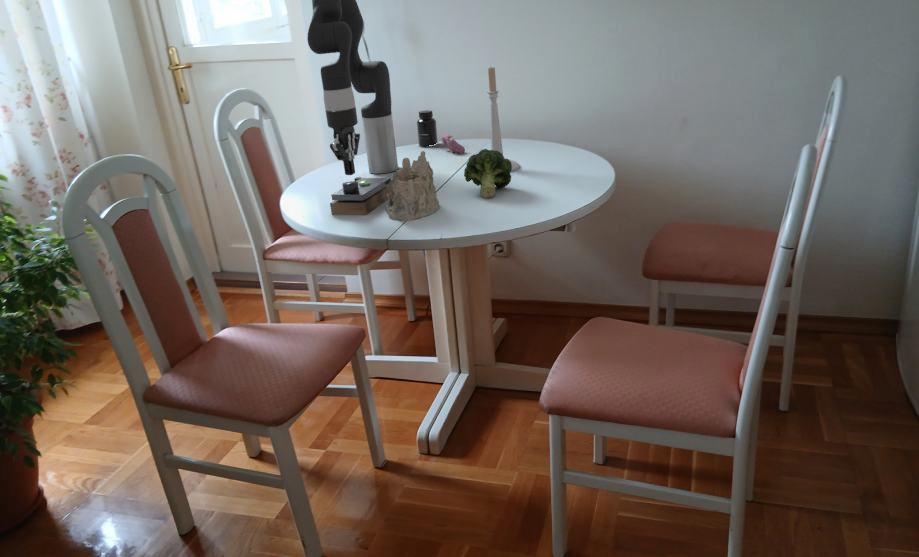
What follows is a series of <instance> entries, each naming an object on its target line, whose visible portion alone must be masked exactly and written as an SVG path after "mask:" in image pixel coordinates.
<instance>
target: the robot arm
mask: <svg viewBox="0 0 919 557" xmlns="http://www.w3.org/2000/svg"><path fill="white" fill-rule="evenodd" d="M311 3H312V16H311V20H310V23H309V26H308V31H307V36H306V38H307V39H306V40H307V44H308V47H309V49H310V50H311V51H312V52H313V53H315V54H317V55H325V54H333V53H334V54H335V53H339V56H338V58H337V59H336V60H335V61H333V62H332V61H331V62H328V63H326V64H324V65H322V66H321V67H320V77H321V83H322V89H323V103H324V109H325V116H326V123H327V126H328V128H331V129H332V130H333V143H330V144H329V148H330V149H331V151H332V152H333V155H334V156H335V158H336V159H337V160H338V161H341V162H342V163H343V168H344V174H345V176H352V175H355V173H356V170H355V162H354V160H355V157H356V156H357V155H358V151H359V145H360V144H359V143H360V139H361V134H360V132H359V133H356V132H355V130H356V128H355V127H354V126H356V125H358V122H359V121H358V115H357V108H356V100H355V96H354V95H355V94H354V90H355V91H356V93H358V94H374V95H375V99H374V100H373V101H372V102H370V103H368V104H366V105H364V106H362V107H361V109H360V112H361V121H362V126H363V128H362V129H363V135H364V144H365V151H366V157H367V166H368V173H371V174H388V173H392V172H396V171H397V170H399V164H398V163H399V162H398V152H397V147H396V146H397V145H396V137H395V130H394V129H395V128H394V123H393V122H394V121H393V120H394V119H393V114H392V113H393V112H392V93H391V80H390V79H391V78H390V71H389V67H388V66H387V64H386V62H384V61H381V60H373V61H363V60H361V57H360V53H359V45H360V43H361V42H360V41H361V39H362V36H363V32H364V25H365V24H364V18H363V16H362V13H361V11H360V7H359V5H358V2H357V1H356V0H311ZM353 88H354V90H353Z"/></svg>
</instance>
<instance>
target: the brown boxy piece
mask: <svg viewBox="0 0 919 557" xmlns="http://www.w3.org/2000/svg"><path fill="white" fill-rule="evenodd" d="M361 178H362V177H360V176H359V177H357V176H356V177H355V178H354V180H353V181H357V180H359V179H361ZM386 187H387V186H386ZM386 187H385V188H383V189H381V190H380V191H378V192H377V193H375V194H373V195H372V196H370V197H368V198H367V199H365V200H364V201H362V200H332V201H331V202H330V203H329V205H330V206H329V207H330V212H331V215H341V216H342V215H344V216H345V215H347V216H348V215H351V216H355V215H356V216H357V215H358V216H367V215H368V214H370V213H371V212H372V211H374V210H375V209H376V208H378V207H379V206H381V205H382V204H384V203H385V202H386V201H388V197H387V194H388V190H387V189H386Z"/></svg>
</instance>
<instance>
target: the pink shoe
mask: <svg viewBox="0 0 919 557" xmlns="http://www.w3.org/2000/svg"><path fill="white" fill-rule="evenodd" d="M440 140H441V145H442V146H445V147H446V148H447V150H448V149H449V150H450V151H449V150H448V151H449V152H451V151H452V152H454V153H459V154H461V153H460V152H464V153H465V152H466V149H465V147H464V146H463V145H461V144H460V143H458V141H456V140H455V138H453V136H452V135H450V134H446V135H443V136H442V137H441V138H440ZM452 152H451V153H452Z"/></svg>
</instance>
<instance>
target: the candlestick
mask: <svg viewBox="0 0 919 557" xmlns="http://www.w3.org/2000/svg"><path fill="white" fill-rule="evenodd" d="M487 74H488V75H487V76H488V89H489V90H488V91H486V93H487V94H488V98H489V101H490V136H491V137H490V140H491V141H490V143H491V149H490V150H497V151H499V152H500V153H502V155H503V157H504V158H505V156H504V151H503V150H504V149H503V143H502V133H501V132H502V131H501V124H500V116H499V108H498V107H499V106H498V103H497V100H498V98H499V96H498V94H499V92H500V90H498V89H497V81H496V80H497V79H496V67H492V66H490V67H487ZM507 159H508V160H510V161H511V164H512V170H511V172H515V171H517V170H518V169H519V168H520V163H518V162H517V161H515V160H513V159H510V158H507ZM511 172H510V173H511Z"/></svg>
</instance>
